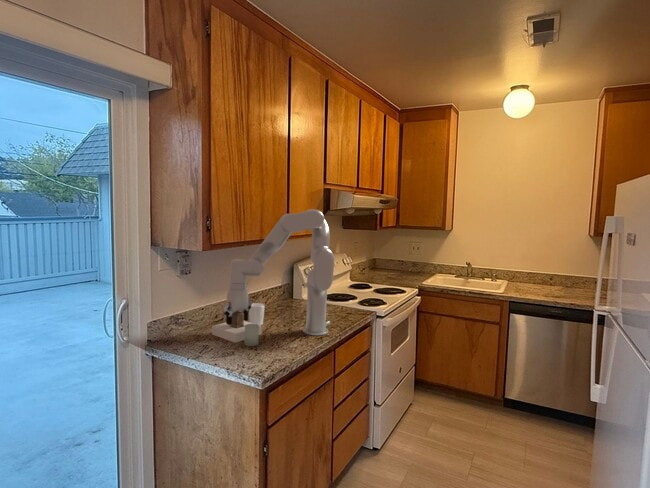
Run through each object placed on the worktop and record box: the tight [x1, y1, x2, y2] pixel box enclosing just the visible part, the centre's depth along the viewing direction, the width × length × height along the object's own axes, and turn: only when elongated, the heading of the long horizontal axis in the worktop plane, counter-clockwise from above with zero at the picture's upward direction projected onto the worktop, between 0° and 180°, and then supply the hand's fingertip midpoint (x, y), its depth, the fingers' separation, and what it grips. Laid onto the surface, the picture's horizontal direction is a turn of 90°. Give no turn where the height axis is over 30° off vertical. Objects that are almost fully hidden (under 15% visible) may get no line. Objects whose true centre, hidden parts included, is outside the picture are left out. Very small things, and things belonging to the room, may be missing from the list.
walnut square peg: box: [231, 311, 245, 329], centre depth 181 cm, size 4×4×10 cm
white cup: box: [248, 302, 266, 326], centre depth 199 cm, size 8×8×10 cm
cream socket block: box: [211, 320, 263, 343], centre depth 181 cm, size 16×16×4 cm
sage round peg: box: [243, 324, 260, 347], centre depth 170 cm, size 6×6×8 cm
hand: (237, 322), depth 181 cm, fingers open, 9 cm apart
